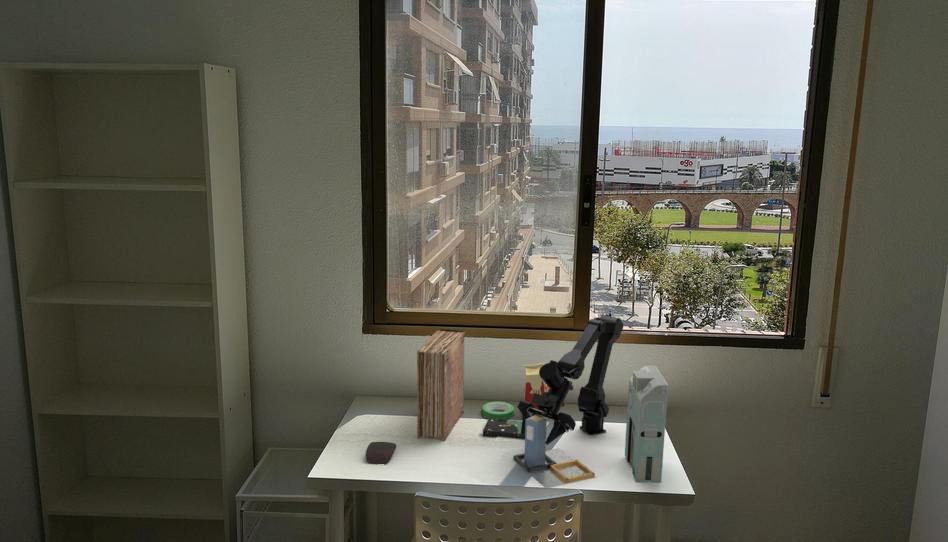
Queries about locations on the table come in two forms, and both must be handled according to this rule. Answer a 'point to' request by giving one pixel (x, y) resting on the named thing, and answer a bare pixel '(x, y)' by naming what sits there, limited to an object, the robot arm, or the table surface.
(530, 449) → the plug
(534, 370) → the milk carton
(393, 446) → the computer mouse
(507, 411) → the tape roll
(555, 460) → the panel
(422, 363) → the book
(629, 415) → the device
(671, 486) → the table surface
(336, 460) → the table surface
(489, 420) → the disk drive
